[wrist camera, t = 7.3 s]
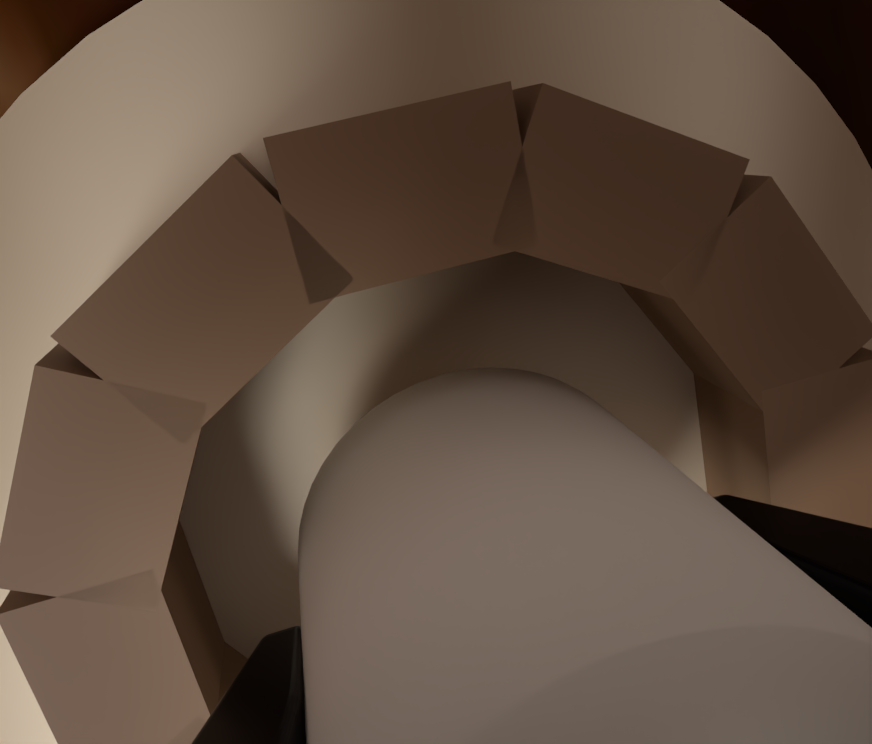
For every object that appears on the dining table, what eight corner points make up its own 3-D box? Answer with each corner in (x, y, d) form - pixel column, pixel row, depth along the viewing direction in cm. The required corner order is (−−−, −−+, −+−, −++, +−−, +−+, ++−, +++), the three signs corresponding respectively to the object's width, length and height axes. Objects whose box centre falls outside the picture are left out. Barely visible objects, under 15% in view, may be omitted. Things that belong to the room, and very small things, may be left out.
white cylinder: (667, 632, 10) (989, 1038, 6) (351, 736, 10) (415, 1276, 5) (623, 324, 9) (1003, 525, 4) (251, 427, 8) (215, 784, 4)
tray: (866, -165, 10) (1044, -257, 7) (891, 708, 14) (1008, 816, 12) (-333, 79, 8) (-574, 55, 6) (127, 978, 12) (93, 1163, 10)
